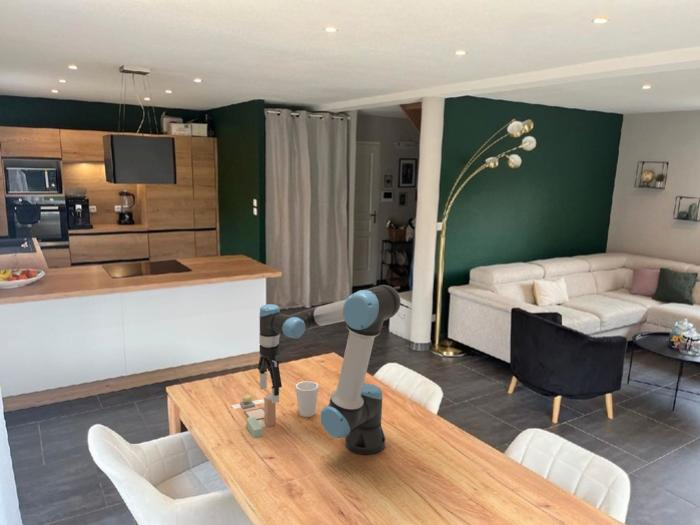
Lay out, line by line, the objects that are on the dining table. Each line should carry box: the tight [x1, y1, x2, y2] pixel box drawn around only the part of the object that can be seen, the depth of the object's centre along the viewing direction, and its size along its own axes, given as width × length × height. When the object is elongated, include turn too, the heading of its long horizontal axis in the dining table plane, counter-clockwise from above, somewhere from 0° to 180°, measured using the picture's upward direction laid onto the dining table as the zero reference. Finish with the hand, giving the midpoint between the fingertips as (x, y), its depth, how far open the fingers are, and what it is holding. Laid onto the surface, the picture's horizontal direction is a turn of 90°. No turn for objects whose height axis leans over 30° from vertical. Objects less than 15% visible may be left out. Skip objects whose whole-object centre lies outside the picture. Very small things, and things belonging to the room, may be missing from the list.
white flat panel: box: [230, 398, 267, 428], centre depth 214 cm, size 28×14×2 cm, turn 29°
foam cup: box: [295, 380, 319, 418], centre depth 216 cm, size 10×9×13 cm
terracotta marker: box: [263, 393, 277, 428], centre depth 206 cm, size 3×3×12 cm
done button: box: [242, 393, 253, 402], centre depth 222 cm, size 4×4×2 cm
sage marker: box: [245, 417, 264, 439], centre depth 201 cm, size 10×3×3 cm, turn 29°
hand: (269, 395), depth 206 cm, fingers open, 13 cm apart
